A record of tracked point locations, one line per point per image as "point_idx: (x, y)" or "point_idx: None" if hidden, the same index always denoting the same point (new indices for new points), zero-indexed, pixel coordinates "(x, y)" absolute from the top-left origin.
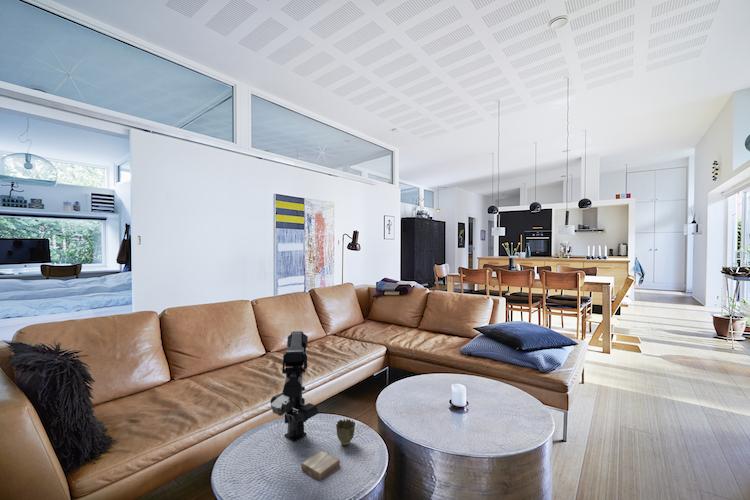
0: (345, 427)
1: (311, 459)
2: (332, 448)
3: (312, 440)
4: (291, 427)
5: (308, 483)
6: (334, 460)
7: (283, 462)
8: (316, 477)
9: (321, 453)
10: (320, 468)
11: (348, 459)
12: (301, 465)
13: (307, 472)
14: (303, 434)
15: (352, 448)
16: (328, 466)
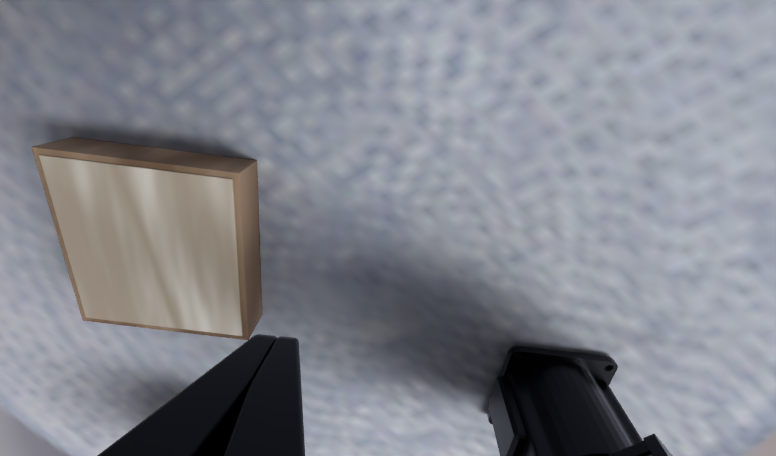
0: None
1: (216, 240)
2: None
3: (419, 393)
4: (266, 366)
5: (98, 73)
6: (94, 300)
7: (423, 156)
8: (98, 142)
9: (218, 316)
10: (83, 196)
11: (126, 355)
12: (246, 169)
13: (190, 153)
14: (490, 408)
15: None
16: (66, 238)
